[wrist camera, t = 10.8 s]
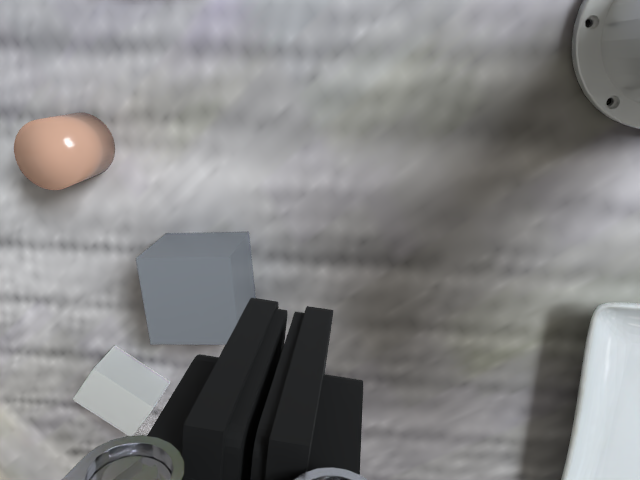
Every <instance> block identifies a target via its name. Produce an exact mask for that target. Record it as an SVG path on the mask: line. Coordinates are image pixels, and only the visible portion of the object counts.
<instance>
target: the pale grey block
mask: <svg viewBox="0 0 640 480" xmlns="http://www.w3.org/2000/svg"><path fill="white" fill-rule="evenodd" d="M169 384H170V381H168V380H167V379H165V378H164V377H162V376H161V375H159V374H158V373H156V372H155V371H153V370H152V369H150V368H149V367H147V366H146V365H144V364H143V363H141V362H140V361H138V360H137V359H135V358H134V357H132V356H131V355H129V354H128V353H126V352H125V351H123V350H122V349H120V348H119V347H117V346H116V345H115V346H114V347H113V348H112V349H111V350H110V351H109V352H108V353H107V354H106V355H105V356H104V358H103V359H102V360H101V361H100V362H99V363H98V364H97V365H96V366H95V367H94V369H93V370H92V371H91V373H90V374H89V376H88V377H87V379H86V380H85V382H84V383H83V385H82V386H81V388H80V389H79V391H78V392H77V394H76V395H75V397H74V398H73V401H75V402H76V403H78V404H80V405H81V406H83V407H84V408H86V409H87V410H89V411H91V412H92V413H94V414H95V415H97V416H98V417H100V418H101V419H103V420H105V421H106V422H108V423H109V424H111V425H112V426H114V427H115V428H117V429H119V430H120V431H122V432H123V433H125V434H126V435H128V436H133V435H134V434H135V432H136V431H137V430H138V428H139V427H140V426H141V424H142V423H143V422H144V420H145V419H146V418H147V416H148V415H149V414H150V413H151V411H152V410H153V409H154V407H155V406H156V404H157V402H158V401H159V399H160V398H161V396H162V395H163V393H164V391H165V390H166V388H167V387H168V385H169Z"/></svg>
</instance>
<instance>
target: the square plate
mask: <svg viewBox="0 0 640 480" xmlns="http://www.w3.org/2000/svg"><path fill="white" fill-rule="evenodd" d="M561 480H640V304H639V303H613V302H610V303H604V304H600V305H599V306H598V307H597V308H596V309H595V310H594V312H593V315H592V318H591V321H590V325H589V330H588V335H587V340H586V345H585V351H584V358H583V365H582V371H581V378H580V385H579V391H578V398H577V405H576V411H575V417H574V422H573V428H572V433H571V438H570V444H569V449H568V454H567V458H566V463H565V467H564V471H563V475H562V479H561Z"/></svg>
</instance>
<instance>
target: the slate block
mask: <svg viewBox="0 0 640 480" xmlns="http://www.w3.org/2000/svg"><path fill="white" fill-rule="evenodd" d="M136 263H137V269H138V274H139V280H140V286H141V292H142V297H143V303H144V309H145V315H146V320H147V326H148V332H149V338H150V344H195V345H226V343H227V341H228V340H229V338H230V336H231V334H232V332H233V330H234V328H235V326H236V324H237V323H238V321H239V319H240V317H241V315H242V313H243V311H244V309H245V307H246V305H247V304H248V302H249V300H250V298H256V296H255V286H254V276H253V266H252V256H251V246H250V237H249V232H214V233H168V234H165V235H164V236H163V237H161V238H160V239H159V240H158V241H156V242H155V243H154V244H153V245H152V246H150V247H149V248H148V249H147V250H145V251H144V252H143V253H142V254H141V255H139V256H138V257H137V258H136Z"/></svg>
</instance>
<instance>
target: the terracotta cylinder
mask: <svg viewBox="0 0 640 480" xmlns="http://www.w3.org/2000/svg"><path fill="white" fill-rule="evenodd" d="M14 153H15V158H16V161H17V164H18V166H19V168H20V170H21V171H22V173H23V174H24V175H25V176H26V177H27V178H28V179H29V180H30V181H31V182H33V183H34V184H36V185H37V186H39V187H42V188H45V189H49V190H60V189H64V188H67V187H69V186H71V185H74V184H76V183H79V182H81V181H84V180H86V179H88V178H91V177H93V176H96V175H98V174H101V173H102V172H104V171H105V170H107V169H108V167H109V166H110V165H111V163H112V161H113V158H114V154H115V144H114V140H113V137H112V134H111V132H110V131H109V129H108V128H107V126H106V125H105V124H104V123H103V122H102V121H101V120H99V119H98V118H96V117H95V116H93V115H90V114H87V113H72V114H66V115H61V116H55V117H49V118H44V119H38V120H33V121H31V122H28V123H27V124H25V125H24V126H23V127H22V128H21V129H20V130H19V132H18V134H17V136H16V139H15V143H14Z"/></svg>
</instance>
